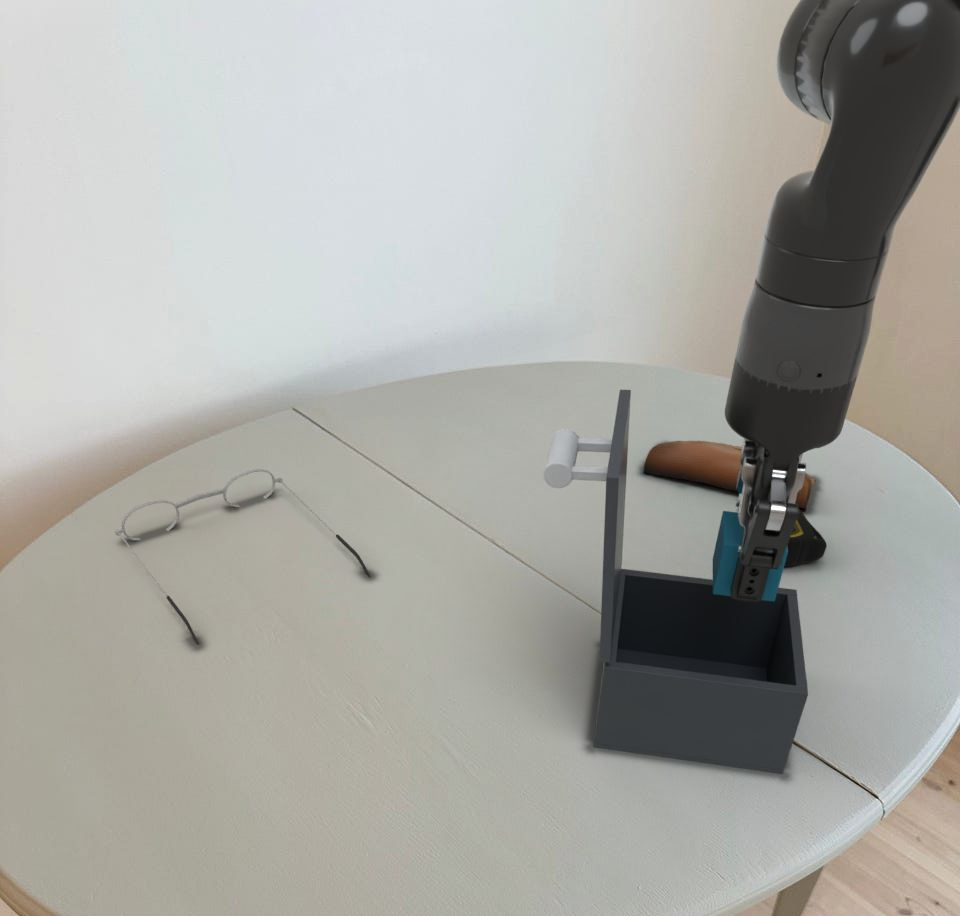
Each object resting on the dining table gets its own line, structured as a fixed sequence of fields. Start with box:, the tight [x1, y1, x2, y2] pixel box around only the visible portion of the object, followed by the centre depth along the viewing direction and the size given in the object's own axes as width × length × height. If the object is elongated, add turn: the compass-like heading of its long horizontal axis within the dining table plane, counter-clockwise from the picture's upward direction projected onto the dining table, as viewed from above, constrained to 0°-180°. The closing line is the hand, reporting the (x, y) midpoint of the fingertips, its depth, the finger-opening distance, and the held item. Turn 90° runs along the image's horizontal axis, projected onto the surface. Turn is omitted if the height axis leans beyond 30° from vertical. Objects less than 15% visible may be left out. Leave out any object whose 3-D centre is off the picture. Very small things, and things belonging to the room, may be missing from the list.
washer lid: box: [542, 389, 632, 663], centre depth 72 cm, size 15×13×5 cm
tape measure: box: [784, 507, 827, 567], centre depth 98 cm, size 7×7×4 cm
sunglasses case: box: [643, 440, 816, 512], centre depth 109 cm, size 18×7×7 cm
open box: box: [592, 568, 809, 775], centre depth 79 cm, size 15×13×9 cm
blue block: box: [712, 510, 788, 602], centre depth 71 cm, size 4×4×4 cm
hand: (744, 576), depth 73 cm, fingers closed on blue block, 4 cm apart
